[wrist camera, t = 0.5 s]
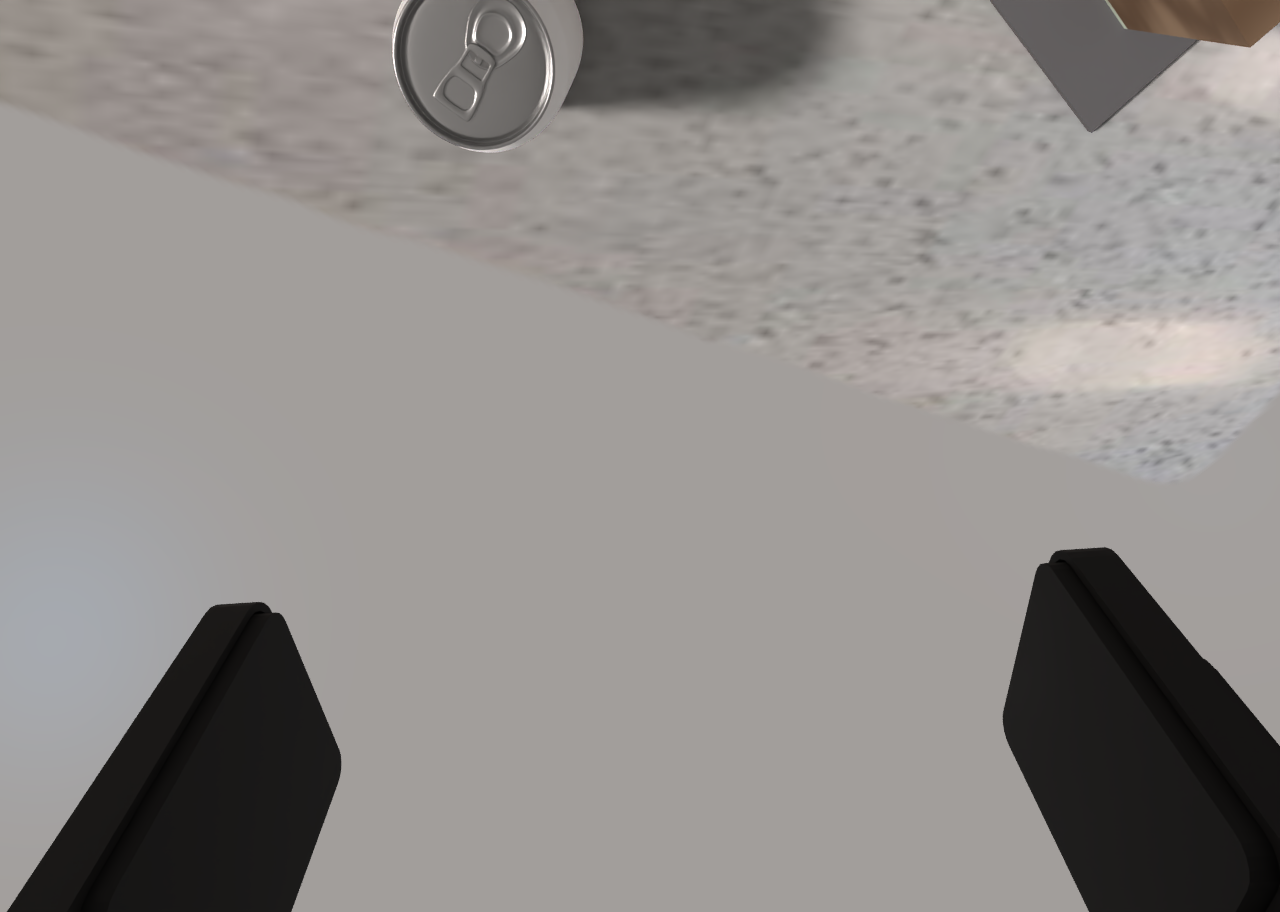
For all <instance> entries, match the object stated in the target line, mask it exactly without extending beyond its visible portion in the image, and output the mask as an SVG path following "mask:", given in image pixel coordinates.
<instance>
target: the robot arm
mask: <svg viewBox="0 0 1280 912" xmlns="http://www.w3.org/2000/svg"><path fill="white" fill-rule="evenodd" d="M1003 726H1004V732H1005V735H1006V739H1007V741H1008V744H1009V746H1010V748H1011V750H1012V752H1013V755H1014V756H1015V759H1016V761H1017V763H1018V765H1019V767H1020V769H1021V771H1022V773H1023V775H1024V777H1025V779H1026V782H1027V784H1028V786H1029V788H1030V790H1031V792H1032V794H1033V796H1034V798H1035V800H1036V802H1037V804H1038V807H1039V808H1040V811H1041V813H1042V815H1043V817H1044V819H1045V821H1046V823H1047V825H1048V827H1049V829H1050V831H1051V834H1052V836H1053V838H1054V839H1055V842H1056V844H1057V846H1058V848H1059V850H1060V852H1061V854H1062V856H1063V858H1064V860H1065V863H1066V865H1067V866H1068V869H1069V871H1070V873H1071V875H1072V877H1073V879H1074V881H1075V883H1076V885H1077V888H1078V890H1079V892H1080V894H1081V896H1082V898H1083V900H1084V902H1085V904H1086V906H1087V908H1088V910H1089V912H1280V746H1279V745H1278V743H1277V742H1276V741H1275V740H1274V739H1273V737H1272V736H1271V735H1270V734H1269V733H1268V731H1267V730H1266V729H1265V728H1264V726H1263V725H1262V724H1261V723H1260V722H1259V720H1258V719H1257V718H1256V717H1255V716H1254V714H1253V713H1252V712H1251V711H1250V710H1249V708H1248V707H1247V706H1246V705H1245V704H1244V702H1243V701H1242V700H1241V699H1240V698H1239V696H1238V695H1237V694H1236V693H1235V692H1234V690H1233V689H1232V688H1231V687H1230V686H1229V684H1228V683H1227V682H1226V681H1225V679H1224V678H1223V677H1222V676H1221V675H1220V673H1219V672H1218V671H1217V670H1216V669H1215V668H1214V667H1213V666H1212V665H1211V664H1210V663H1208V661H1207V660H1205V659H1203V658H1202V657H1201V656H1200V655H1199V653H1198V652H1197V651H1196V650H1195V649H1194V647H1193V646H1192V645H1191V644H1190V642H1189V641H1188V640H1187V639H1186V637H1185V636H1184V635H1183V634H1182V633H1181V631H1180V630H1179V629H1178V628H1177V627H1176V625H1175V624H1174V623H1173V622H1172V621H1171V619H1170V618H1169V617H1168V616H1167V615H1166V613H1165V612H1164V611H1163V610H1162V608H1161V607H1160V606H1159V605H1158V603H1157V602H1156V601H1155V600H1154V599H1153V598H1152V596H1151V595H1150V594H1149V593H1148V592H1147V590H1146V589H1145V588H1144V586H1143V585H1142V584H1141V583H1140V582H1139V580H1138V579H1137V578H1136V577H1135V575H1134V574H1133V573H1132V572H1131V571H1130V569H1129V568H1128V567H1127V566H1126V565H1125V563H1124V562H1123V561H1122V560H1121V558H1120V557H1119V556H1118V555H1117V554H1116V553H1115V552H1114V551H1113V550H1111V549H1109V548H1105V547H1104V548H1090V549H1089V548H1088V549H1074V550H1060V551H1056V552H1055V553H1054V554H1053V555H1052V556H1051V559H1050V561H1049V563H1044V564H1040V566H1039V567H1038V568H1037V571H1036V574H1035V578H1034V582H1033V587H1032V591H1031V595H1030V599H1029V604H1028V608H1027V612H1026V617H1025V621H1024V625H1023V629H1022V634H1021V638H1020V642H1019V647H1018V651H1017V655H1016V660H1015V664H1014V668H1013V672H1012V677H1011V681H1010V685H1009V690H1008V694H1007V698H1006V702H1005V707H1004V711H1003ZM340 773H341V754H340V751H339V748H338V746H337V743H336V741H335V739H334V736H333V734H332V731H331V729H330V727H329V724H328V722H327V720H326V717H325V715H324V712H323V710H322V707H321V705H320V703H319V700H318V698H317V695H316V693H315V691H314V688H313V686H312V683H311V681H310V679H309V676H308V674H307V672H306V669H305V667H304V664H303V662H302V660H301V657H300V655H299V652H298V650H297V647H296V645H295V643H294V640H293V638H292V635H291V633H290V631H289V628H288V626H287V624H286V621H285V619H284V618H283V616H282V615H281V614H280V613H272V612H271V610H270V608H269V607H268V606H267V605H266V604H264V603H262V602H252V603H238V604H221V605H215V606H213V607H211V608H210V609H209V610H208V611H207V612H206V613H205V615H204V616H203V618H202V619H201V621H200V622H199V624H198V625H197V627H196V628H195V630H194V631H193V633H192V634H191V636H190V637H189V639H188V640H187V642H186V643H185V645H184V646H183V648H182V649H181V651H180V652H179V654H178V655H177V657H176V658H175V660H174V661H173V663H172V664H171V666H170V667H169V669H168V670H167V672H166V673H165V675H164V677H163V678H162V679H161V681H160V683H159V684H158V685H157V687H156V688H155V690H154V691H153V693H152V695H151V696H150V698H149V699H148V701H147V702H146V703H145V705H144V706H143V708H142V709H141V711H140V712H139V714H138V715H137V717H136V718H135V720H134V721H133V723H132V725H131V726H130V727H129V729H128V730H127V732H126V734H125V735H124V737H123V738H122V740H121V741H120V743H119V744H118V746H117V747H116V749H115V750H114V752H113V753H112V755H111V756H110V758H109V759H108V761H107V762H106V764H105V765H104V767H103V768H102V770H101V771H100V773H99V774H98V776H97V777H96V779H95V780H94V782H93V783H92V785H91V786H90V788H89V789H88V791H87V792H86V794H85V795H84V797H83V798H82V800H81V801H80V803H79V804H78V806H77V807H76V809H75V810H74V812H73V813H72V815H71V816H70V818H69V819H68V821H67V822H66V824H65V825H64V827H63V828H62V830H61V831H60V833H59V834H58V836H57V837H56V839H55V841H54V842H53V843H52V845H51V846H50V848H49V849H48V851H47V852H46V854H45V855H44V857H43V858H42V860H41V861H40V863H39V864H38V866H37V867H36V869H35V870H34V872H33V873H32V875H31V877H30V878H29V879H28V881H27V882H26V884H25V886H24V887H23V889H22V890H21V891H20V893H19V894H18V896H17V897H16V899H15V901H14V902H13V903H12V905H11V907H10V908H9V909H8V911H7V912H291V911H292V908H293V905H294V903H295V900H296V897H297V894H298V891H299V889H300V886H301V883H302V881H303V878H304V875H305V872H306V870H307V867H308V864H309V861H310V859H311V856H312V853H313V850H314V848H315V845H316V842H317V839H318V836H319V834H320V831H321V828H322V826H323V823H324V820H325V817H326V815H327V812H328V809H329V806H330V804H331V801H332V798H333V795H334V792H335V790H336V787H337V784H338V781H339V778H340Z"/></svg>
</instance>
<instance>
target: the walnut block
mask: <svg viewBox="0 0 1280 912" xmlns="http://www.w3.org/2000/svg"><path fill="white" fill-rule="evenodd" d="M1105 1H1106V3H1107V4H1108V6H1109V7H1110V9H1111V10H1112V11H1113V13H1114V14H1115V16H1116V17H1117V19H1118V20H1119V22H1120V23H1121V25H1122V26H1123V28H1124V29H1130V30H1136V31H1143V32H1150V33H1157V34H1163V35H1170V36H1177V37H1183V38H1190V39H1197V40H1203V41H1210V42H1217V43H1223V44H1230V45H1237V46H1244V47H1251V46H1252V45H1254V44H1255V43H1256V42H1257V41H1258V40H1259V39H1261V38H1262V37H1263V36H1264V35H1265V34H1266V33H1268V32H1269V31H1270V30H1271V29H1272V28H1273V27H1275V26H1276V25H1277V24H1278V23H1279V22H1280V0H1105Z"/></svg>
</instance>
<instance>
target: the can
mask: <svg viewBox="0 0 1280 912" xmlns="http://www.w3.org/2000/svg"><path fill="white" fill-rule="evenodd" d="M582 51H583V29H582V23H581V18H580V15H579V11H578V9H577V6H576V4H575V1H574V0H402V2H401V4H400V7H399V9H398V12H397V15H396V18H395V23H394V28H393V36H392V57H393V66H394V72H395V76H396V80H397V83H398V86H399V88H400V91H401V93H402V95H403V97H404V99H405V101H406V103H407V104H408V106H409V108H410V109H411V111H412V112H413V113H414V115H415V116H416V117H417V118H418V119H419V120H420V122H421V123H422V124H423V125H424V126H425V127H427V128H428V129H429V130H430V131H431V132H433V133H434V134H435V135H437V136H438V137H440V138H442V139H443V140H445V141H447V142H449V143H451V144H454V145H457V146H459V147H462V148H465V149H468V150H472V151H478V152H501V151H507V150H511V149H514V148H517V147H519V146H521V145H523V144H525V143H527V142H529V141H531V140H532V139H534V138H535V137H536V136H538V135H539V134H540V133H541V132H542V131H543V130H544V129H545V128H546V127H547V126H548V125H549V124H550V123H551V121H552V120H553V119H554V117H555V116H556V114H557V113H558V111H559V109H560V108H561V106H562V104H563V102H564V100H565V98H566V96H567V93H568V91H569V89H570V87H571V85H572V83H573V80H574V78H575V76H576V73H577V71H578V68H579V65H580V61H581V57H582Z"/></svg>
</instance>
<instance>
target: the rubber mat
mask: <svg viewBox="0 0 1280 912" xmlns="http://www.w3.org/2000/svg"><path fill="white" fill-rule="evenodd" d="M990 1H991V3H992V4H993V5H994V7H995V8H996V9H997V11H998V12H999V13H1000V15H1001V16H1002V17H1003V19H1004V20H1005V21H1006V23H1007V24H1008V25H1009V27H1010V28H1011V29H1012V31H1013V32H1014V33H1015V35H1016V36H1017V37H1018V39H1019V40H1020V41H1021V43H1022V44H1023V45H1024V47H1025V48H1026V49H1027V51H1028V52H1029V53H1030V55H1031V56H1032V57H1033V59H1034V60H1035V61H1036V63H1037V64H1038V65H1039V67H1040V68H1041V69H1042V71H1043V72H1044V73H1045V75H1046V76H1047V77H1048V79H1049V80H1050V81H1051V83H1052V84H1053V85H1054V87H1055V88H1056V89H1057V91H1058V92H1059V93H1060V95H1061V96H1062V97H1063V99H1064V100H1065V101H1066V103H1067V104H1068V105H1069V107H1070V108H1071V109H1072V111H1073V112H1074V113H1075V115H1076V116H1077V117H1078V119H1079V120H1080V121H1081V123H1082V124H1083V125H1084V127H1085V128H1086V129H1087V131H1089V132H1091V133H1092V132H1093V131H1094V130H1096V129H1097V128H1098V127H1099V126H1100V125H1101V124H1102V123H1103V122H1105V121H1106V120H1107V119H1108V118H1109V117H1110V116H1111V115H1113V114H1114V113H1115V112H1116V111H1117V110H1118V109H1119V108H1120V107H1122V106H1123V105H1124V104H1125V103H1126V102H1127V101H1128V100H1130V99H1131V98H1132V97H1133V96H1134V95H1135V94H1136V93H1137V92H1139V91H1140V90H1141V89H1142V88H1143V87H1144V86H1145V85H1147V84H1148V83H1149V82H1150V81H1151V80H1152V79H1153V78H1154V77H1156V76H1157V75H1158V74H1159V73H1160V72H1161V71H1162V70H1164V69H1165V68H1166V67H1167V66H1168V65H1169V64H1170V63H1171V62H1173V61H1174V60H1175V59H1176V58H1177V57H1178V56H1179V55H1181V54H1182V53H1183V52H1184V51H1185V50H1186V49H1187V48H1188V47H1190V46H1191V45H1192V44H1193V43H1194V42H1195V41H1196V40H1197V39H1190V38H1183V37H1177V36H1170V35H1163V34H1157V33H1150V32H1143V31H1136V30H1130V29H1124V28H1123V26H1122V25H1121V23H1120V22H1119V20H1118V19H1117V17H1116V16H1115V14H1114V13H1113V11H1112V10H1111V9H1110V7H1109V6H1108V4H1107V3H1106V1H1105V0H990Z"/></svg>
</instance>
